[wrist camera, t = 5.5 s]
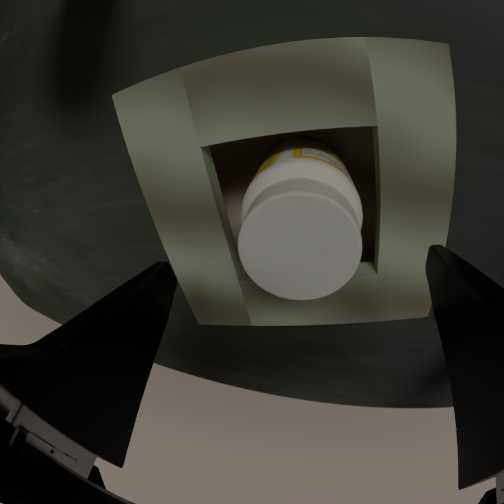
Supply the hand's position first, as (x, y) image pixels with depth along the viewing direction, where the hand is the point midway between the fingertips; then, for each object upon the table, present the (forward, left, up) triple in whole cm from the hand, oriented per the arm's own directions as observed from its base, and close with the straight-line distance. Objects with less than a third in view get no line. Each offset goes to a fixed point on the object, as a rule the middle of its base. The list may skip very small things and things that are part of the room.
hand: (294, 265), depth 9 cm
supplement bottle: (0, 0, -9) cm, 9 cm away
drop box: (0, 0, -10) cm, 10 cm away
